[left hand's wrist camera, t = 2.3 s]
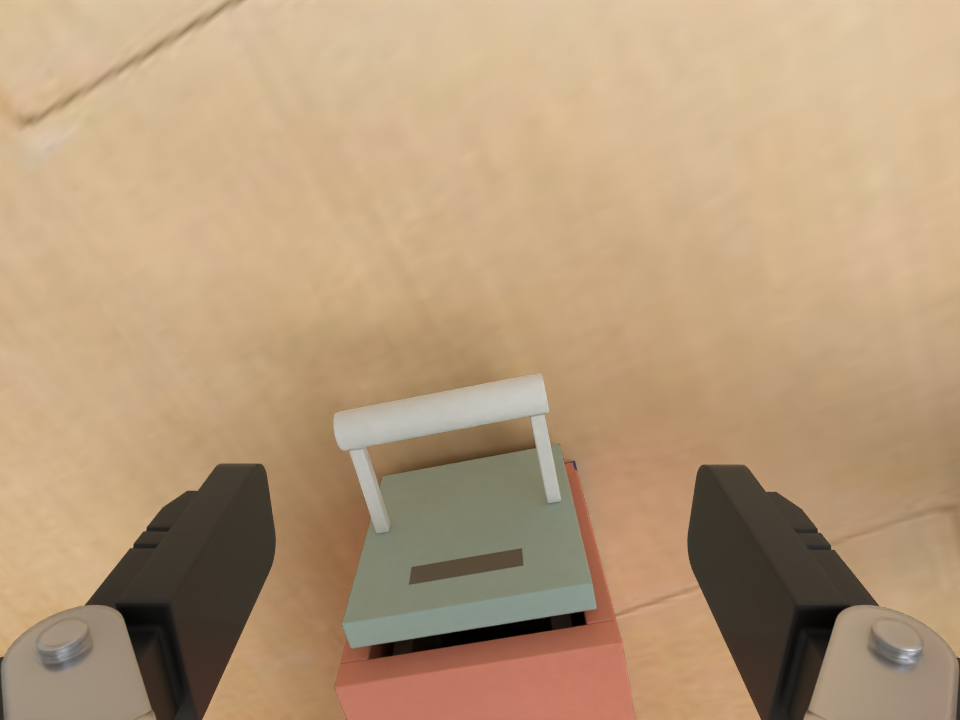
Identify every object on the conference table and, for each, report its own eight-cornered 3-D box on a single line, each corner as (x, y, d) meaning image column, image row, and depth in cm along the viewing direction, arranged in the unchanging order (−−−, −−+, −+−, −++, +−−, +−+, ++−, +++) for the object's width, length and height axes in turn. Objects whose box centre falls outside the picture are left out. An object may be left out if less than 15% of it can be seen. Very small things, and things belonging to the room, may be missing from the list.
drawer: (349, 371, 30) (289, 488, 20) (539, 334, 29) (565, 437, 20) (464, 740, 39) (459, 937, 29) (611, 719, 38) (653, 913, 29)
